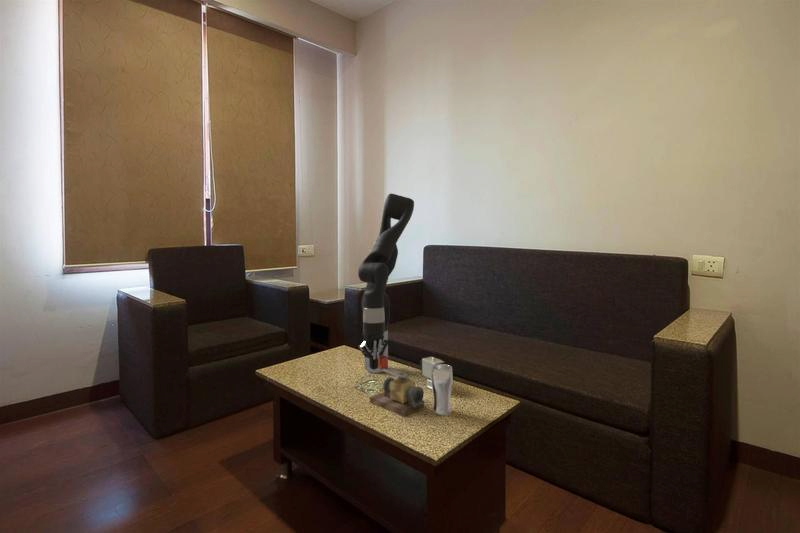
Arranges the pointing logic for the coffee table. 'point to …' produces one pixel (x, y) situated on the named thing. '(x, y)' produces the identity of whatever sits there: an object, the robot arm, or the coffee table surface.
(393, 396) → the valve pipe
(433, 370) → the beer glass
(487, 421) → the coffee table surface
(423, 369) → the pneumatic valve
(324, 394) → the coffee table surface
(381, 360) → the valve lever
